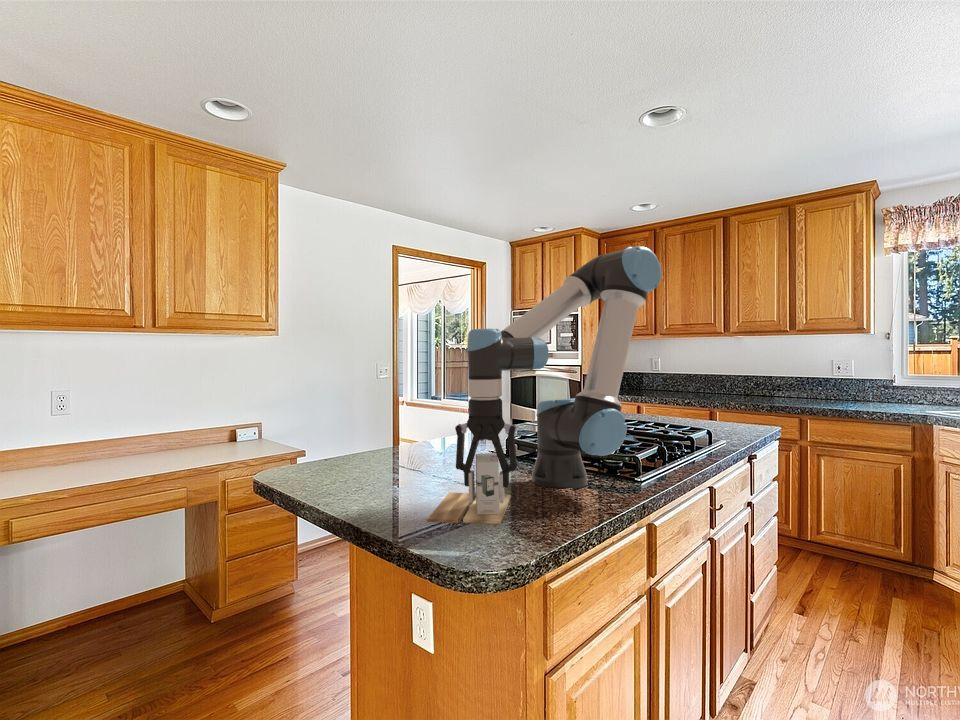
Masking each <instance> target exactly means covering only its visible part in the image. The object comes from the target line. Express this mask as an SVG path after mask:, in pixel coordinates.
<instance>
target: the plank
mask: <svg viewBox="0 0 960 720" xmlns="http://www.w3.org/2000/svg"><path fill="white" fill-rule="evenodd" d="M511 498H512V495H511V494H504V502H503V504H502V503H500V499H499V514H486V515H478V514H477V507H476V498H475V499H474V501H473V502H472V504H471V506H470V507H469V509H468V510H467V512H466V514H465V515H464V517H463V518H462V522H463V523H468V524H469V523H470V524H492V525H493V524H494V525H501V524H502V522H503V519H504V518H505V517H504V516H505V514H506V511H507V509H508V505H509V503H510V501H511Z"/></svg>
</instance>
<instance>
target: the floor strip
mask: <svg viewBox="0 0 960 720" xmlns="http://www.w3.org/2000/svg"><path fill="white" fill-rule="evenodd" d="M475 499H476V492H475ZM472 504H473V502H469V492H448V494H446V496H445V497H444V498H443V500H442V501H441V502H440V503H439V504H438V506H436V508H435V509H434V511H433V512H432V513H430V515H429V517H428V518H427V519H426V520H427V521H426V522H428V523H429V522H433V523H449V524H450V523H452V524H460V523H461V522H462V521H463V518H464V517H465V515H466V513H467V512H468V510H469V509H470V507H471V505H472Z"/></svg>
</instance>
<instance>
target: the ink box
mask: <svg viewBox="0 0 960 720" xmlns="http://www.w3.org/2000/svg"><path fill="white" fill-rule="evenodd" d="M499 466H500V463H499V460H498V457H497V454H496V452H488V453H487V452H486V453H475V493H476V498H475V499H476V507H477V514H478V515H486V514H499V473H500V472H499V470H500V469H499Z"/></svg>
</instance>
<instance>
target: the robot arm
mask: <svg viewBox="0 0 960 720" xmlns="http://www.w3.org/2000/svg"><path fill="white" fill-rule="evenodd" d="M661 279H662V267H661V263H660V261H659V260H658V257H657V255H656V254H655V253H654V251H652V249H650V248H649V247H647V246H646V247H645V246H642V245H639V246H638V245H637V246H633V247H632V246H628V247H626V248H625V249H620V250H617V251H612V252H609V253H603V254H600V255H598V256H596V257H594V258H593V259H590V260H589V261H587V262H586V263H585V264H583V265H582V266H580V268H578V269H576V270H575V271H574V272H573V273H571V274H570V275H569V276H567V277H566V278H565V279H564V281H563V285H561V286H560V287H559V288H558V289H556V290H554V291H553V292H552V293H551V294H550V295H548V296H547V297H545V298H543V300H541V301H540V302H539V303H537V304H536V305H534V306H533V307H532V308H530V310H528V311H527V312H525V313H524V314H523V315H521V316H519V318H518V319H516V320H514V321H513V322H512V323H510V324H508V326H507V327H505V328H504V329H502V330H501V329H499V328H473V329H471V330H469V331H468V333H467V346H466V347H467V348H466V351H467V374H468V375H467V377H468V379H467V389H468V390H467V391H468V393H467V394H468V395H467V396H468V397H469V398H470V399H469V400H468V419H467V421H466V422H465V423H462V424H461V423H459V424H457V425H455V427H454V429H455V432H456V435H457V439H456V456H455V469H456V470H459V471H462V472H463V481H464V486H465V487H468V493H469V502H472V503H473V502H474V501H475V499H476V498H475V493H476V488H475V470H471V469H472V465H473V462H474V459H475V457H476V454H477V449H478V446H479V443H480V441H484V440H487V441H491V443H492V445H493V447H494V451H495V453H496V454H497V458H498V463H499V466H500V468H501V471H500V472H499V499H500V503H502V504H503V502H504V495H505V488H507V489H508V487H509V485H510V472H513V471H514V472H515V471H516V470H517V467H518V463H517V452H516V451H517V449H516V440H515V439H516V438H515V433H516V431H517V425H516V424H509V423H506V422H505V420H504V418H503V400H502V398H500V397H502V395H503V381H502V378H503V376H502V373H503V371H505V372H506V371H528V370H529V371H534V370H541V369H542V368H544V367H545V366H546V365H547V364H548V361H549V352H550V351H549V346H548V344H547V342H546V341H545V340H544V339H543V338H542V337H543V336H544V335H545V334H547V333H548V332H550V330H552V329H553V328H555V327H556V326H557V325H558V324H560V323H561V322H562V321H564V320H565V319H566V318H567V317H568V316H570V315H571V314H572V313H573V312H574V313H575V311H576V310H578V309H579V308H580V307H581V308H582V307H583V308H585V307H587V306H589V304H591V303H592V302H595V301H597V300H600V299H602V300H603V307H602V310H601V314H600V319H599V324H598V326H597V327H598V328H597V332H596V335H595V340H594V344H593V348H592V353H591V357H590V361H589V365H588V370H587V374H586V377H585V383H584V386H583V389H582V390H581V391H580V392H579V393H577V394H576V395H575V397H574V398H564V399H563V398H562V399H561V398H560V399H550V400H542V401H541V400H540V401H539V402H538V404H537V407H536V409H537V410H536V418H537V420H536V422H537V423H536V426H537V429H536V430H537V431H536V432H537V434H536V435H537V456H536V460H535V462H534V465H533V469H532V472H531V483H533V484H535V485H538V486H542V487H546V488H554V489H555V488H556V489H568V488H569V489H571V488H572V490H577V489H579V488H584V487H586V486H587V485H588V474H587V471H586V468H585V465H584V462H583V459H582V455H581V452H582V453H585V454H588V455H591V456H604V457H605V456H608V455H609V456H610V455H612V454H613V453H614V452H616V451H617V450H619V449H620V447H621V446H622V444H623V443H624V442H625V439H626V436H627V431H628V426H627V422H626V418H625V416H624V414H622V408H623V405H622V404H621V402H620V400H619V398H618V396H619V393H620V389H621V383H622V380H623V376H624V371H625V366H626V364H627V363H626V362H627V359H628V358H627V357H628V354H629V349H630V344H631V339H632V335H633V331H634V328H635V323H636V319H637V313H638V309H639V308H641V307H643V306H644V305H645V304H646V301H647V297H648V294H649V293H650V292H652V291H653V290H655V289H656V288H657V287H659V285H660V283H661ZM467 429H468V430H469V431H470V433H471V434H472V435H473V436H472V440H471V444H470V448H469V451H468V455H467V458H466V460H465V463H464V459H465V458H464V457H465V455H464V454H465V435H466V434H467ZM503 429H504V430H505V433H506V435H507V446H508V457H509V464H508V461H507V458H506V455H505V452H504V448H503V446H502V443H501V439H500V433H501V431H502V430H503Z"/></svg>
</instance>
